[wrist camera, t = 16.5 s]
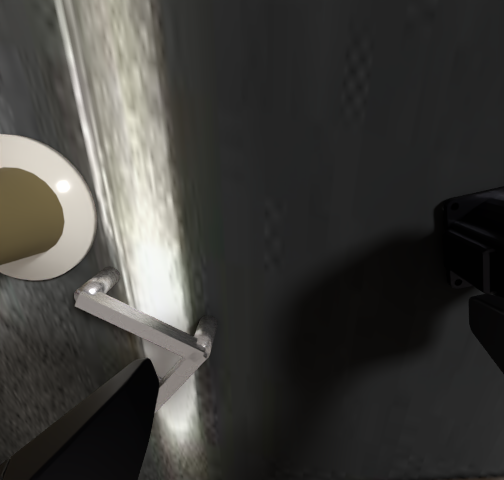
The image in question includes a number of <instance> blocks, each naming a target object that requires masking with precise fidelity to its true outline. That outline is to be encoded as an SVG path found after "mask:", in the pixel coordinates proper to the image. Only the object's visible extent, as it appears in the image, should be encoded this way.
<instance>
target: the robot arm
mask: <svg viewBox="0 0 504 480" xmlns="http://www.w3.org/2000/svg"><path fill="white" fill-rule="evenodd" d="M453 203H455V207H454V208H453V209H451V205H452V204H453ZM443 209H444V227H445V231H444V232H443V251H444V266H445V267H446V268H447V281H448V284H449V285H450V286H451V287H453V288H455V289H460V288H465V287H471V286H474V287H476V288H477V289H479V290H480V291H482V292H483V293H485V294H483V295H478V296H473V297H471V298H470V299H469V324H470V328H471V330H472V332H473V334H474V335H475V336H476V338H477V339H478V340H479V342H480V343H481V344H482V346H483V347H484V348H485V350H486V351H487V352H488V354H489V355H490V356H491V358H492V359H493V360H494V362H495V363H496V364H497V366H498V367H499V368H500V370H501V371H502V372H503V374H504V187H499V188H495V189H490V190H486V191H481V192H476V193H472V194H467V195H463V196H458V197H454V198H450V199H448V200H447V201H445V203H444V207H443ZM457 279H459V280H458V282H457V283H455V281H456V280H457ZM490 294H494V295H495V296H494V295H490ZM159 386H160V384H159V379H158V376H157V374H156V371H155V369H154V366H153V364H152V362H151V360H150V359H149V358H143V359H137V360H134V361H133V362H132V363H130V364H129V365H128V366H126V367H125V368H124V369H123V370H121V371H120V372H119V373H117V374H116V375H115V376H114V377H112V378H111V379H110V380H109V381H107V382H106V383H105V384H103V385H102V386H101V387H100V388H98V389H97V390H96V391H94V392H93V393H92V394H91V395H89V396H88V397H87V398H86V399H84V400H83V401H82V402H80V403H79V404H78V405H77V406H75V407H74V408H73V409H71V410H70V411H69V412H68V413H66V414H65V415H64V416H62V417H61V418H60V419H59V420H57V421H56V422H55V423H54V424H52V425H51V426H50V427H48V428H47V429H46V430H45V431H43V432H42V433H41V434H39V435H38V436H37V437H36V438H34V439H33V440H32V441H31V442H29V443H28V444H27V445H25V446H24V447H23V448H22V449H20V450H19V451H18V452H16V453H15V454H14V455H13V456H12V457H11V458H10V459H8V460H6V461H5V462H4V463H2V464H1V465H0V480H138V477H139V473H140V470H141V467H142V463H143V460H144V456H145V453H146V450H147V446H148V442H149V438H150V434H151V429H152V424H153V418H154V413H155V408H156V403H157V398H158V393H159Z"/></svg>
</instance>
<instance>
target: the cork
mask: <svg viewBox="0 0 504 480" xmlns="http://www.w3.org/2000/svg"><path fill="white" fill-rule="evenodd" d="M64 223H65V221H64V214H63V208H62V206H61V204H60V202H59V200H58V197H57V195H56V194H55V193H54V191H53V190H52V189H51V188H50V187H49V185H48V184H47V183H46V182H45V181H43V180H42V179H40V178H39V177H38V176H36V175H35V174H33V173H31V172H28V171H25V170H23V169H20V168H10V167H3V168H0V265H3V264H7V263H10V262H13V261H17V260H20V259H23V258H27V257H30V256H33V255H36V254H40V253H43V252H46V251H48V250H49V249H51V248H52V247H53V246H55V245H56V244H57V242H58V241H59V239H60V237H61V236H62V233H63V228H64Z"/></svg>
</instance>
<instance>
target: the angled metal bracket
mask: <svg viewBox="0 0 504 480" xmlns="http://www.w3.org/2000/svg"><path fill="white" fill-rule="evenodd" d="M119 280H120V274H119V272H118V270H117V269H115V268H113V267H106V268H104V269H103V270H101V271H100V272H99V273H98V274H96V275H95V276H94V277H93V278H91V279H90V280H89V281H87V282H86V283H85V284H84V285H82V286H81V287H80V288H78V289H77V290H76V291H75V293H74V298H75V300H76V304H75V307H78V308H80V309H82V310H84V311H86V312H88V313H90V314H92V315H95V316H97V317H99V318H101V319H103V320H105V321H107V322H110V323H112V324H114V325H116V326H118V327H120V328H122V329H124V330H127V331H129V332H131V333H133V334H135V335H137V336H139V337H141V338H144V339H146V340H148V341H150V342H152V343H154V344H156V345H159V346H161V347H163V348H165V349H167V350H169V351H171V352H173V353H176V354H178V355H180V356H182V358H181V359H180V360H179V362H178V363H177V364H176V365H175V366H174V367H173V368H172V369H171V370H170V371H169V372H168V374H167V375H166V376H165V377H164V378H163V379H161V378H160V377H158V379H159V384H160V386H159V393H158V398H157V403H156V408H155V413H156V412H157V411H158V409H159V408H160V407H161V406H162V405H163V404H164V403H165V402H166V401H167V400H168V399H169V398H170V397H171V396H172V395H173V394H174V393H175V392H176V391H177V389H178V388H179V387H180V386H181V385H182V384H183V383H184V382H185V381H186V380H187V379H188V378H189V377H190V376H191V375H192V374H193V373H194V372H195V371H196V369H197V368H198V367H199V366H200V365H201V364H202V363H203V362H204V361H205V360H206V359H207V358H208V357H209V356H210V352H211V348H212V344H213V340H214V336H215V332H216V328H217V320H216V319H215V318H214V317H213V316H209V315H206V316H203V317H202V318H201V319H200V321H199V324H198V327H197V330H196V333H195V335H194V337H193V336H191V335H189V334H187V333H185V332H183V331H181V330H179V329H177V328H174V327H172V326H170V325H168V324H166V323H164V322H162V321H160V320H158V319H156V318H154V317H152V316H149V315H147V314H145V313H143V312H141V311H139V310H137V309H135V308H133V307H131V306H129V305H127V304H124V303H122V302H120V301H118V300H116V299H114V298H112V297H110V296H108V295H106V293H107V292H108V291H109V290H110V289H111V288H112V287H113V286H114V285H115V284H116V283H117V282H118V281H119ZM155 413H154V414H155Z"/></svg>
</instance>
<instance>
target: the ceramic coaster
mask: <svg viewBox="0 0 504 480" xmlns="http://www.w3.org/2000/svg"><path fill="white" fill-rule="evenodd" d="M3 167H10V168H20V169H23V170H25V171H28V172H31V173H33V174H35V175H36V176H38V177H39V178H40V179H42V180H43V181H45V182H46V183H47V184H48V185H49V187H50V188H51V189H52V190H53V191H54V193H55V194H56V195H57V197H58V200H59V202H60V204H61V206H62V208H63V214H64V221H65V223H64V228H63V233H62V236H61V237H60V239H59V241H58V242H57V244H56V245H55V246H53V247H52V248H51V249H49V250H48V251H46V252H43V253H40V254H36V255H33V256H30V257H27V258H23V259H20V260H17V261H13V262H10V263H7V264H3V265H0V273H3V274H5V275H8V276H11V277H14V278H18V279H23V280H45V279H51V278H54V277H57V276H59V275H62V274H64V273H65V272H67V271H69V270H70V269H72V268H73V267H75V266H76V265H78V264H79V263H80V262H81V261H82V260H83V259H84V258H85V257H86V255H87V254H88V253H89V251H90V249H91V247H92V245H93V243H94V240H95V237H96V232H97V211H96V206H95V202H94V199H93V196H92V193H91V191H90V189H89V187H88V185H87V183H86V181H85V180H84V178H83V176H82V175H81V174H80V172H79V171H78V170H77V169H76V167H75V166H74V165H73V164H72V163H71V162H70V161H69V160H68V159H67V158H66V157H64V156H63V155H62V154H61V153H59V152H58V151H56V150H55V149H53V148H52V147H50V146H48V145H46V144H44V143H42V142H40V141H38V140H35V139H32V138H29V137H24V136H19V135H4V134H0V168H3Z"/></svg>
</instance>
